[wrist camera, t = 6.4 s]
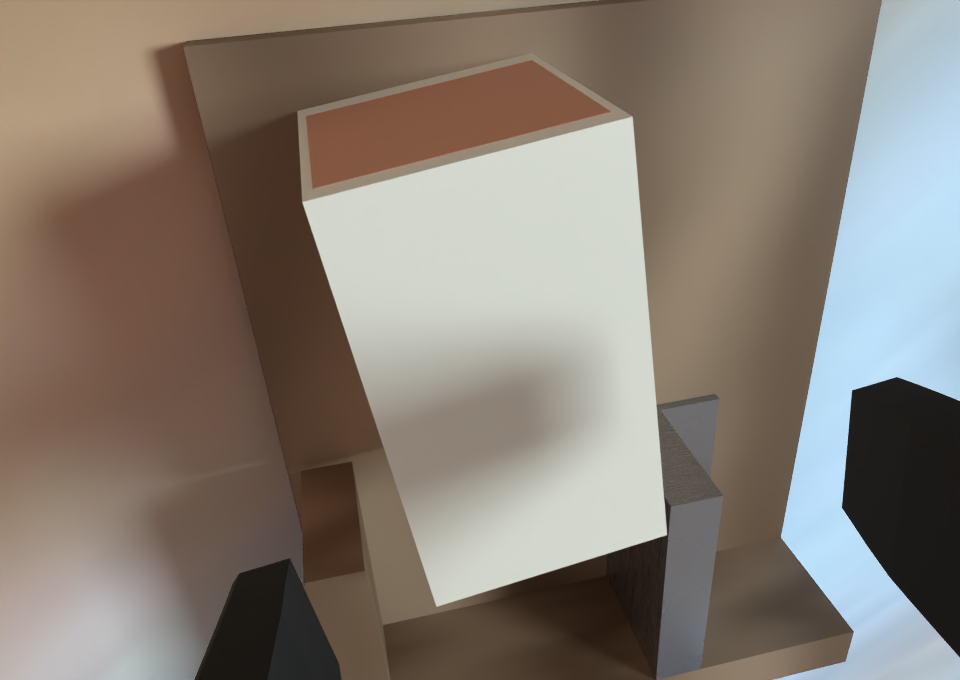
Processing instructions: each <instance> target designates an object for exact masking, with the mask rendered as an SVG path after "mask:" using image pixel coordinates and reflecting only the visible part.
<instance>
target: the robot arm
mask: <svg viewBox="0 0 960 680" xmlns="http://www.w3.org/2000/svg"><path fill="white" fill-rule="evenodd" d="M842 508H843V510H844V511H845V513H846V514H847V516H848V517H849V519H850V520H851V522H852V523H853V525H854V526H855V528H856V529H857V531H858V532H859V534H860V535H861V537H862V538H863V540H864V541H865V543H866V544H867V546H868V547H869V549H870V550H871V552H872V553H873V554H874V556H875V557H876V559H877V560H878V561H879V563H880V564H881V566H882V567H883V568H884V570H885V571H886V573H887V574H888V576H889V577H890V578H891V579H892V580H893V582H894V583H895V584H896V585H897V586H898V587H899V589H900V590H901V591H902V592H903V593H904V594H905V596H906V597H907V598H908V599H909V600H910V601H911V602H912V604H913V605H914V606H915V607H916V608H917V609H918V610H919V612H920V613H921V614H922V615H923V616H924V617H925V618H926V620H927V621H928V622H929V623H930V624H931V625H932V626H933V628H934V629H935V630H936V631H937V632H938V633H939V634H940V636H941V637H942V638H943V639H944V640H945V641H946V642H947V643H948V644H949V646H950V647H951V648H952V649H953V650H954V651H955V652H956V653H957V655H958V656H959V657H960V401H958V400H956V399H953V398H951V397H948V396H946V395H943V394H941V393H938V392H935V391H933V390H930V389H928V388H925V387H922V386H920V385H917V384H914V383H912V382H909V381H906V380H903V379H900V378H897V377H896V378H893V379H889V380H886V381H883V382H879V383H876V384H873V385H869V386H866V387H862V388H859V389H856V390H852V399H851V411H850V422H849V434H848V445H847V457H846V469H845V480H844V492H843V503H842ZM194 680H342V679H341V672H340V665H339V662H338V660H337V658H336V656H335V654H334V652H333V649H332V647H331V645H330V643H329V641H328V639H327V637H326V635H325V632H324V630H323V628H322V626H321V624H320V622H319V620H318V617H317V615H316V613H315V611H314V609H313V607H312V605H311V602H310V600H309V598H308V596H307V594H306V592H305V590H304V587H303V585H302V583H301V581H300V579H299V577H298V575H297V572H296V570H295V568H294V566H293V564H292V562H291V560H290V559H286V560H283V561H280V562H276V563H273V564H270V565H266V566H263V567H260V568H256V569H253V570H250V571H246V572H243V573H240V574H239V575H238V576H237V578H236V579H235V581H234V583H233V585H232V587H231V590H230V592H229V595H228V598H227V600H226V603H225V605H224V608H223V610H222V613H221V616H220V618H219V621H218V623H217V626H216V628H215V631H214V633H213V636H212V638H211V641H210V643H209V646H208V648H207V651H206V653H205V656H204V658H203V660H202V663H201V665H200V667H199V670H198V672H197V675H196V677H195V679H194Z"/></svg>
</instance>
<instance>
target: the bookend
mask: <svg viewBox="0 0 960 680" xmlns="http://www.w3.org/2000/svg"><path fill="white" fill-rule="evenodd" d="M719 400H720V399H719V398H718V397H717V395H716V394H712V395H706V396H701V397H696V398H690V399H685V400H680V401H674V402H669V403H663V404H658V405H656V406H657V418H658V430H659V442H660V454H661V466H662V479H663V491H664V503H665V515H666V527H667V535H666V536H662V537H659V538H656V539H653V540H650V541H646V542H643V543H640V544H637V545H634V546H630V547H627V548H624V549H621V550H618V551H614V552H611V553H608V554H607V578H608V580H609V582H610V584H611V586H612V588H613V590H614V593H615V595H616V597H617V599H618V601H619V603H620V605H621V607H622V609H623V612H624V614H625V616H626V618H627V620H628V622H629V624H630V626H631V628H632V630H633V633H634V635H635V637H636V639H637V641H638V643H639V645H640V647H641V649H642V652H643V654H644V656H645V658H646V660H647V662H648V664H649V666H650V668H651V671H652V673H653V675H654V677H655V679H656V680H658V679H663V678H667V677H671V676H675V675H679V674H683V673H687V672H691V671H695V670H699V669H701V663H702V655H703V647H704V640H705V632H706V624H707V617H708V609H709V602H710V594H711V586H712V579H713V571H714V563H715V556H716V548H717V541H718V533H719V525H720V518H721V510H722V503H723V495H722V493H721V492H720V491H719V489H718V488H717V487H716V485H715V484H714V482H713V481H712V480H711V478H710V477H711V468H712V460H713V451H714V443H715V434H716V426H717V417H718V409H719Z"/></svg>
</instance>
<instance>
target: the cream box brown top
mask: <svg viewBox="0 0 960 680" xmlns="http://www.w3.org/2000/svg"><path fill="white" fill-rule="evenodd" d="M297 114H298V133H299V151H300V169H301V188H302V203H303V206H304V209H305V212H306V215H307V218H308V221H309V224H310V227H311V230H312V233H313V236H314V239H315V242H316V245H317V248H318V251H319V254H320V257H321V260H322V263H323V266H324V269H325V272H326V275H327V278H328V281H329V284H330V287H331V290H332V293H333V296H334V299H335V302H336V305H337V308H338V311H339V314H340V317H341V320H342V323H343V326H344V329H345V332H346V335H347V338H348V341H349V344H350V347H351V350H352V354H353V357H354V360H355V363H356V366H357V369H358V372H359V375H360V378H361V381H362V384H363V387H364V390H365V393H366V396H367V399H368V402H369V405H370V408H371V411H372V414H373V417H374V420H375V423H376V426H377V429H378V432H379V435H380V438H381V441H382V444H383V447H384V450H385V453H386V456H387V459H388V462H389V465H390V468H391V471H392V474H393V477H394V480H395V483H396V486H397V489H398V492H399V495H400V498H401V501H402V504H403V507H404V510H405V513H406V516H407V519H408V522H409V525H410V528H411V531H412V534H413V537H414V540H415V543H416V546H417V549H418V553H419V556H420V559H421V562H422V565H423V568H424V571H425V574H426V577H427V580H428V583H429V586H430V589H431V592H432V595H433V598H434V601H435V604H436V607H438V606H441V605H444V604H447V603H451V602H454V601H457V600H460V599H463V598H467V597H470V596H473V595H476V594H479V593H483V592H486V591H489V590H492V589H495V588H499V587H502V586H505V585H508V584H512V583H515V582H518V581H521V580H524V579H528V578H531V577H534V576H537V575H540V574H544V573H547V572H550V571H553V570H556V569H560V568H563V567H566V566H569V565H573V564H576V563H579V562H582V561H585V560H589V559H592V558H595V557H598V556H601V555H605V554H608V553H611V552H614V551H618V550H621V549H624V548H627V547H630V546H634V545H637V544H640V543H643V542H646V541H650V540H653V539H656V538H659V537H662V536H666V535H667V527H666V515H665V503H664V491H663V479H662V466H661V454H660V442H659V430H658V418H657V406H656V394H655V382H654V369H653V357H652V345H651V333H650V321H649V309H648V297H647V284H646V272H645V260H644V248H643V236H642V224H641V212H640V200H639V187H638V175H637V163H636V151H635V139H634V127H633V116H631V115H629V114H628V113H626V112H625V111H623V110H621V109H620V108H618V107H617V106H615V105H613V104H612V103H610V102H609V101H607V100H605V99H604V98H602V97H601V96H599V95H597V94H596V93H594V92H593V91H591V90H589V89H588V88H586V87H585V86H583V85H581V84H580V83H578V82H577V81H575V80H573V79H572V78H570V77H569V76H567V75H565V74H564V73H562V72H561V71H559V70H557V69H556V68H554V67H553V66H551V65H549V64H548V63H546V62H545V61H543V60H541V59H540V58H538V57H537V56H535V55H533V54H532V53H529V54H525V55H521V56H517V57H513V58H509V59H505V60H501V61H497V62H493V63H489V64H485V65H481V66H477V67H473V68H469V69H465V70H461V71H457V72H453V73H449V74H445V75H441V76H437V77H433V78H428V79H424V80H420V81H416V82H412V83H408V84H404V85H400V86H396V87H392V88H388V89H384V90H380V91H376V92H372V93H368V94H364V95H360V96H356V97H352V98H348V99H344V100H340V101H336V102H332V103H328V104H324V105H320V106H316V107H312V108H308V109H304V110H300V111H297Z"/></svg>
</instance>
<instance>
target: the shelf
mask: <svg viewBox="0 0 960 680" xmlns="http://www.w3.org/2000/svg"><path fill="white" fill-rule="evenodd" d="M881 1H882V0H600V1H590V2H580V3H570V4H560V5H549V6H539V7H529V8H519V9H509V10H499V11H489V12H479V13H468V14H458V15H448V16H438V17H428V18H418V19H408V20H398V21H387V22H377V23H367V24H357V25H347V26H337V27H327V28H317V29H306V30H296V31H286V32H276V33H266V34H256V35H246V36H235V37H225V38H215V39H205V40H195V41H187V42H186V43H185V45H184V46H183V49H184V53H185V57H186V61H187V65H188V70H189V74H190V78H191V82H192V86H193V90H194V94H195V98H196V102H197V106H198V110H199V114H200V118H201V122H202V126H203V130H204V134H205V139H206V143H207V147H208V151H209V155H210V159H211V163H212V167H213V171H214V175H215V179H216V183H217V187H218V191H219V195H220V199H221V203H222V208H223V212H224V216H225V220H226V224H227V228H228V232H229V236H230V240H231V244H232V248H233V252H234V256H235V260H236V264H237V268H238V272H239V277H240V281H241V285H242V289H243V293H244V297H245V301H246V305H247V309H248V313H249V317H250V321H251V325H252V329H253V333H254V337H255V342H256V346H257V350H258V354H259V358H260V362H261V366H262V370H263V374H264V378H265V382H266V386H267V390H268V394H269V398H270V402H271V406H272V411H273V415H274V419H275V423H276V427H277V431H278V435H279V439H280V443H281V447H282V451H283V455H284V459H285V463H286V467H287V471H288V475H289V480H290V484H291V488H292V492H293V496H294V500H295V504H296V508H297V512H298V516H299V520H300V524H301V528H302V532H303V568H304V586H305V590H306V594H307V596H308V598H309V600H310V602H311V605H312V607H313V609H314V611H315V613H316V615H317V617H318V620H319V622H320V624H321V626H322V628H323V630H324V632H325V635H326V637H327V639H328V641H329V643H330V645H331V647H332V649H333V652H334V654H335V656H336V658H337V660H338V662H339V665H340V672H341V679H342V680H656V679H655V677H654V675H653V673H652V671H651V668H650V666H649V664H648V662H647V660H646V658H645V656H644V654H643V652H642V649H641V647H640V645H639V643H638V641H637V639H636V637H635V635H634V633H633V630H632V628H631V626H630V624H629V622H628V620H627V618H626V616H625V614H624V612H623V609H622V607H621V605H620V603H619V601H618V599H617V597H616V595H615V593H614V590H613V588H612V586H611V584H610V582H609V580H608V578H607V554H605V555H601V556H598V557H595V558H592V559H589V560H585V561H582V562H579V563H576V564H573V565H569V566H566V567H563V568H560V569H556V570H553V571H550V572H547V573H544V574H540V575H537V576H534V577H531V578H528V579H524V580H521V581H518V582H515V583H512V584H508V585H505V586H502V587H499V588H495V589H492V590H489V591H486V592H483V593H479V594H476V595H473V596H470V597H467V598H463V599H460V600H457V601H454V602H451V603H447V604H444V605H441V606H438V607H436V604H435V601H434V598H433V595H432V592H431V589H430V586H429V583H428V580H427V577H426V574H425V571H424V568H423V565H422V562H421V559H420V556H419V553H418V549H417V546H416V543H415V540H414V537H413V534H412V531H411V528H410V525H409V522H408V519H407V516H406V513H405V510H404V507H403V504H402V501H401V498H400V495H399V492H398V489H397V486H396V483H395V480H394V477H393V474H392V471H391V468H390V465H389V462H388V459H387V456H386V453H385V450H384V447H383V444H382V441H381V438H380V435H379V432H378V429H377V426H376V423H375V420H374V417H373V414H372V411H371V408H370V405H369V402H368V399H367V396H366V393H365V390H364V387H363V384H362V381H361V378H360V375H359V372H358V369H357V366H356V363H355V360H354V357H353V354H352V350H351V347H350V344H349V341H348V338H347V335H346V332H345V329H344V326H343V323H342V320H341V317H340V314H339V311H338V308H337V305H336V302H335V299H334V296H333V293H332V290H331V287H330V284H329V281H328V278H327V275H326V272H325V269H324V266H323V263H322V260H321V257H320V254H319V251H318V248H317V245H316V242H315V239H314V236H313V233H312V230H311V227H310V224H309V221H308V218H307V215H306V212H305V209H304V206H303V203H302V188H301V169H300V151H299V133H298V114H297V111H300V110H304V109H308V108H312V107H316V106H320V105H324V104H328V103H332V102H336V101H340V100H344V99H348V98H352V97H356V96H360V95H364V94H368V93H372V92H376V91H380V90H384V89H388V88H392V87H396V86H400V85H404V84H408V83H412V82H416V81H420V80H424V79H428V78H433V77H437V76H441V75H445V74H449V73H453V72H457V71H461V70H465V69H469V68H473V67H477V66H481V65H485V64H489V63H493V62H497V61H501V60H505V59H509V58H513V57H517V56H521V55H525V54H529V53H532V54H533V55H535V56H537V57H538V58H540V59H541V60H543V61H545V62H546V63H548V64H549V65H551V66H553V67H554V68H556V69H557V70H559V71H561V72H562V73H564V74H565V75H567V76H569V77H570V78H572V79H573V80H575V81H577V82H578V83H580V84H581V85H583V86H585V87H586V88H588V89H589V90H591V91H593V92H594V93H596V94H597V95H599V96H601V97H602V98H604V99H605V100H607V101H609V102H610V103H612V104H613V105H615V106H617V107H618V108H620V109H621V110H623V111H625V112H626V113H628V114H629V115H631V116H633V127H634V139H635V151H636V163H637V175H638V187H639V200H640V212H641V224H642V236H643V248H644V260H645V272H646V284H647V297H648V309H649V321H650V333H651V345H652V357H653V369H654V382H655V394H656V405H658V404H663V403H669V402H674V401H680V400H685V399H690V398H696V397H701V396H706V395H712V394H716V395H717V397H718V398H719V399H720V400H719V409H718V417H717V426H716V434H715V443H714V451H713V460H712V468H711V477H710V478H711V480H712V481H713V482H714V484H715V485H716V487H717V488H718V489H719V491H720V492H721V493H722V495H723V503H722V510H721V518H720V525H719V533H718V541H717V548H716V556H715V563H714V571H713V579H712V586H711V594H710V602H709V609H708V617H707V624H706V632H705V640H704V647H703V655H702V663H701V669H699V670H695V671H691V672H687V673H683V674H679V675H675V676H671V677H667V678H663V679H658V680H773V679H777V678H781V677H785V676H789V675H793V674H797V673H801V672H805V671H809V670H813V669H817V668H821V667H825V666H829V665H833V664H837V663H841V662H845V661H846V657H847V654H848V650H849V647H850V643H851V640H852V636H853V632H854V631H853V630H852V629H851V628H850V626H849V625H848V624H847V622H846V621H845V620H844V619H843V617H842V616H841V615H840V613H839V612H838V611H837V610H836V608H835V607H834V606H833V604H832V603H831V602H830V600H829V599H828V598H827V597H826V595H825V594H824V593H823V591H822V590H821V589H820V588H819V586H818V585H817V584H816V582H815V581H814V580H813V579H812V577H811V576H810V575H809V573H808V572H807V571H806V570H805V568H804V567H803V566H802V564H801V563H800V562H799V561H798V559H797V558H796V557H795V555H794V554H793V553H792V551H791V550H790V549H789V548H788V546H787V545H786V544H785V542H784V541H783V540H782V539H781V532H782V527H783V522H784V516H785V511H786V506H787V500H788V495H789V490H790V485H791V479H792V474H793V469H794V463H795V458H796V453H797V447H798V442H799V437H800V431H801V426H802V421H803V415H804V410H805V405H806V400H807V394H808V389H809V384H810V378H811V373H812V368H813V362H814V357H815V352H816V346H817V341H818V336H819V331H820V325H821V320H822V315H823V309H824V304H825V299H826V293H827V288H828V283H829V277H830V272H831V267H832V262H833V256H834V251H835V246H836V240H837V235H838V230H839V224H840V219H841V214H842V208H843V203H844V198H845V192H846V187H847V182H848V177H849V171H850V166H851V161H852V155H853V150H854V145H855V139H856V134H857V129H858V123H859V118H860V113H861V108H862V102H863V97H864V92H865V86H866V81H867V76H868V70H869V65H870V60H871V54H872V49H873V44H874V38H875V33H876V28H877V23H878V17H879V12H880V7H881Z"/></svg>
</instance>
